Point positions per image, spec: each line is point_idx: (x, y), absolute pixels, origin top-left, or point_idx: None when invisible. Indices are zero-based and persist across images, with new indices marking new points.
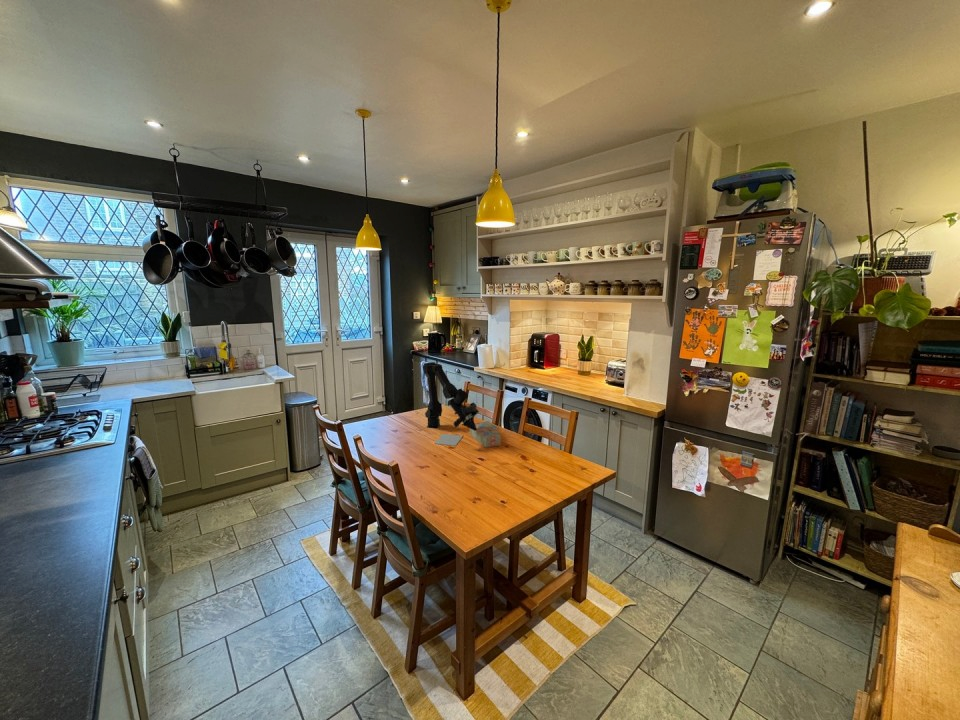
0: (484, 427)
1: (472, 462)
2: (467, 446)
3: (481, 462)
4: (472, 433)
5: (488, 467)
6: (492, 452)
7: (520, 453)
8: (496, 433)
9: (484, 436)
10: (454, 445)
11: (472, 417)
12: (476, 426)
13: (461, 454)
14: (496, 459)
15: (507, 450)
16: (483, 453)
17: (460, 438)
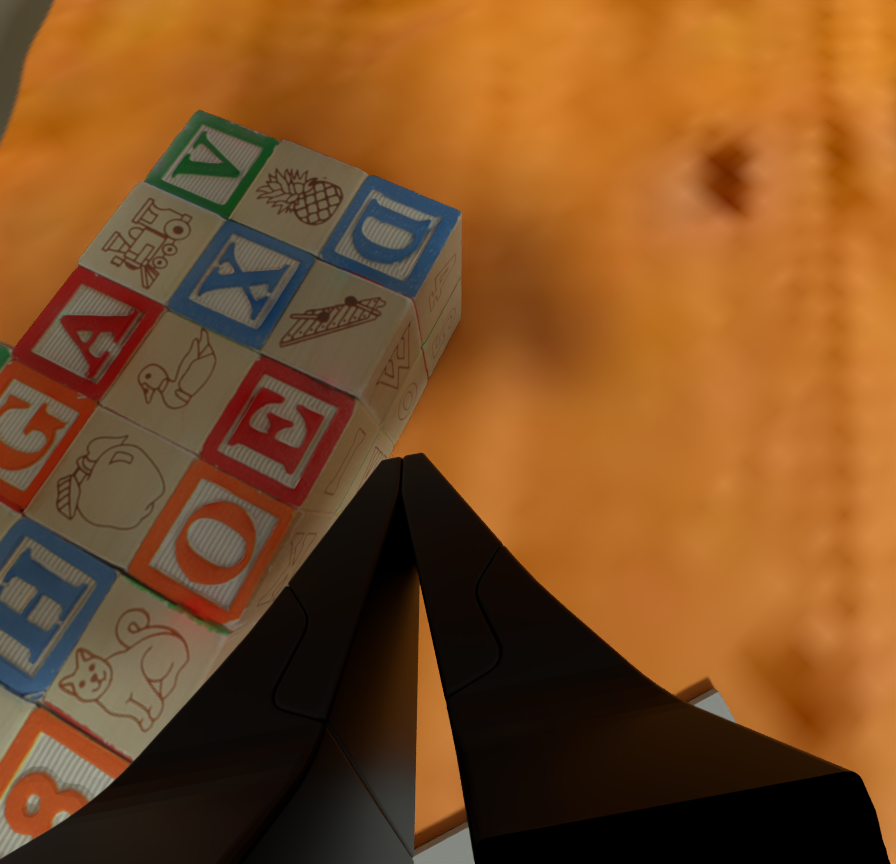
0: (17, 551)
1: (860, 192)
2: (591, 528)
3: (781, 132)
4: None
5: (801, 34)
6: (509, 190)
7: (343, 4)
8: (188, 186)
9: (443, 250)
10: (728, 709)
11: None
12: (46, 769)
13: (831, 417)
14: (613, 75)
15: (361, 114)
16: (601, 243)
17: (452, 844)
